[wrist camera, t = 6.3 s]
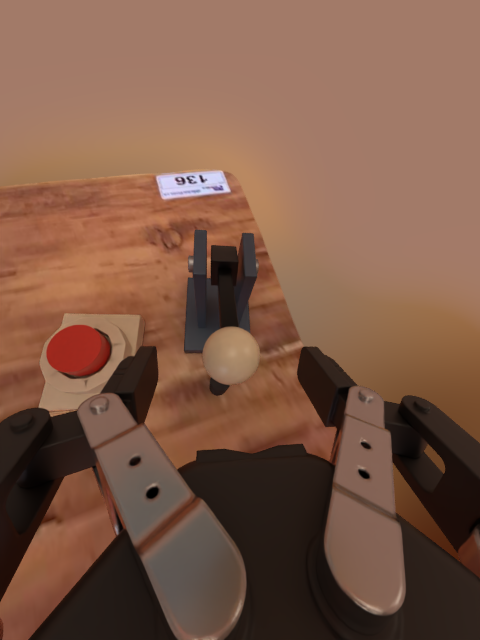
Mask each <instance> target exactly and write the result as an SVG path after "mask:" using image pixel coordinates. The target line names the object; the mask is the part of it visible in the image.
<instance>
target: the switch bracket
mask: <svg viewBox="0 0 480 640" xmlns="http://www.w3.org/2000/svg"><path fill="white" fill-rule="evenodd" d="M238 260H239V264H238V273H237V282H236V286H234V294H235V302H236V309H237V317H238V324H239V328H242V329H244V330H246V331H247V332H249V333H250V321H249V305H248V300H249V297H250V294H251V292H252V289H253V286H254V284H255V281H256V278H257V273H258V268H259V263H258V259H256V256H255V244H254V234H252V233H242V238H241V243H240V248H239V253H238ZM188 270H189V272H193V278H188V287H187V306H186V324H185V343H184V351H185V353H203V348H204V345H205V343H206V341H207V339H208V338H209V337H210V336H211V334H213V333H214V332H215V331H217V330H219V329H220V323H219V299H218V286H215V285H211V278H207V231H206V230H195V235H194V256H189V257H188Z"/></svg>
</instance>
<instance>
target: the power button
mask: <svg viewBox="0 0 480 640" xmlns="http://www.w3.org/2000/svg"><path fill="white" fill-rule="evenodd" d="M109 355H110V345H109V342H108V340H107V339H106V338H105V337H104V336H103V335H102V334H100V333H99V332H98V331H96V330H95V329H94V328H92V327H90V326H87V325H72V326H69V327H66V328H64V329H62V330H61V331H59V332H58V333H57V334H55V335H54V336H53V338H52V339H51V340H50V342H49V344H48V346H47V350H46V357H47V360H48V362H49V364H50V365H51V366H52V367H53V368H54V369H56V370H58V371H61V372H64V373H67V374H71V375H74V376H86V375H90V374H92V373H94V372H96V371H98V370H99V369H100V368H102V367H103V365H104V364H105V363H106V362H107V360H108V358H109Z"/></svg>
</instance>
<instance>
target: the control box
mask: <svg viewBox="0 0 480 640" xmlns="http://www.w3.org/2000/svg"><path fill="white" fill-rule="evenodd" d="M72 325H87V326H90V327H92V328H94V329H95V330H96V331H98V332H99V333H100V334H102V335H103V336H104V337H105V338H106V339H107V340H108V342H109V345H110V355H109V358H108V360H107V362H106V363H105V364H104V365H103V367H102V368H100V369H99V370H98V371H96V372H94V373H92V374H90V375H86V376H74V375H71V374H67V373H64V372H61V371H58V370H56V369H54V368H53V367H52V366H51V365H50V364H49V362H48V360H47V357H46V350H47V346H48V344H49V342H50V340H51V339H52V338H53V336H54V335H55V334H57V333H58V332H59V331H61V330H62V329H64V328H66V327H69V326H72ZM144 328H145V321H144V320H143V318H142V317H141V315H121V314H64V317H63V321H62V325H61V327H60V328H59V329H58V330H57V331H56V332H55V333H54V334H53V335H52V336H51V337H50V338H49V339H48V340H47V341H46V342H45V344H44V347H43V351H42V354H41V358H40V361H39V364H40V367H41V370H42V373H43V376H44V379H45V381H46V382H45V386H44V389H43V393H42V397H41V400H40V404H39V407H38V408H44V409H47V410H48V411H65V410H77V409H78V407H79V406H80V404H81V403H82V402H84V401H85V400H86V399H88V398H90V397H92V396H94V395H97V394H100V392H101V391H102V389H103V388H104V386H105V385H106V383H107V382H108V380H109V378H110V377H111V375H112V374H113V372H114V371H115V370H116V368H117V366H118V365H119V363H120V362H121V361H122V360H124V359H125V358H126V357H128V356H135V354H136V352H137V351H138V349H139V347H140V346H142V343H143V335H144Z"/></svg>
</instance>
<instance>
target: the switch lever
mask: <svg viewBox="0 0 480 640" xmlns="http://www.w3.org/2000/svg"><path fill="white" fill-rule="evenodd" d="M238 264H239V260H238V255H237V250H236V247H233V246H216V245H211V285H215V286H218V299H219V323H220V329H219V330H217V331H215V332H214V333H213V334H211V336H210V337H209V338H208V339H207V341H206V343H205V345H204V348H203V353H202V359H203V364H204V367H205V369H206V371H207V373H208V374H209V375H210V376H211V377H212V378H213V379H214V380H216V381H217V382H219V383H222V384H225V385H237V384H240V383H243V382H245V381H247V380H248V379H249V378H250V377H251V376H252V375H253V374H254V373H255V371H256V370H257V368H258V365H259V362H260V350H259V346H258V344H257V341H256V340H255V338H254V337H253V336H252V335H251V334H250V333H249V332H247V331H246V330H244V329H242V328H239V324H238V317H237V309H236V302H235V294H234V286H236V282H237V273H238Z"/></svg>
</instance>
